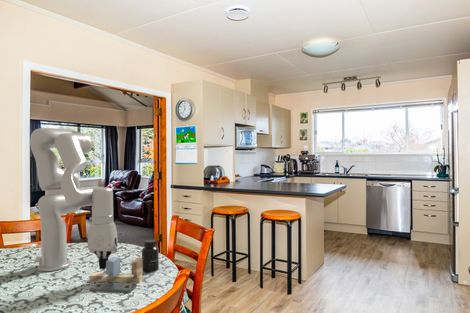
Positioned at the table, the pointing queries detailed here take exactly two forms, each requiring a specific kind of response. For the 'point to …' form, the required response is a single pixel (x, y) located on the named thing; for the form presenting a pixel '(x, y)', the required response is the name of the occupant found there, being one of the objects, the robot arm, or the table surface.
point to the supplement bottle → (150, 256)
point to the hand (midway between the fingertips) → (103, 267)
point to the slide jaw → (112, 267)
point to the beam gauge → (131, 278)
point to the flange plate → (113, 287)
